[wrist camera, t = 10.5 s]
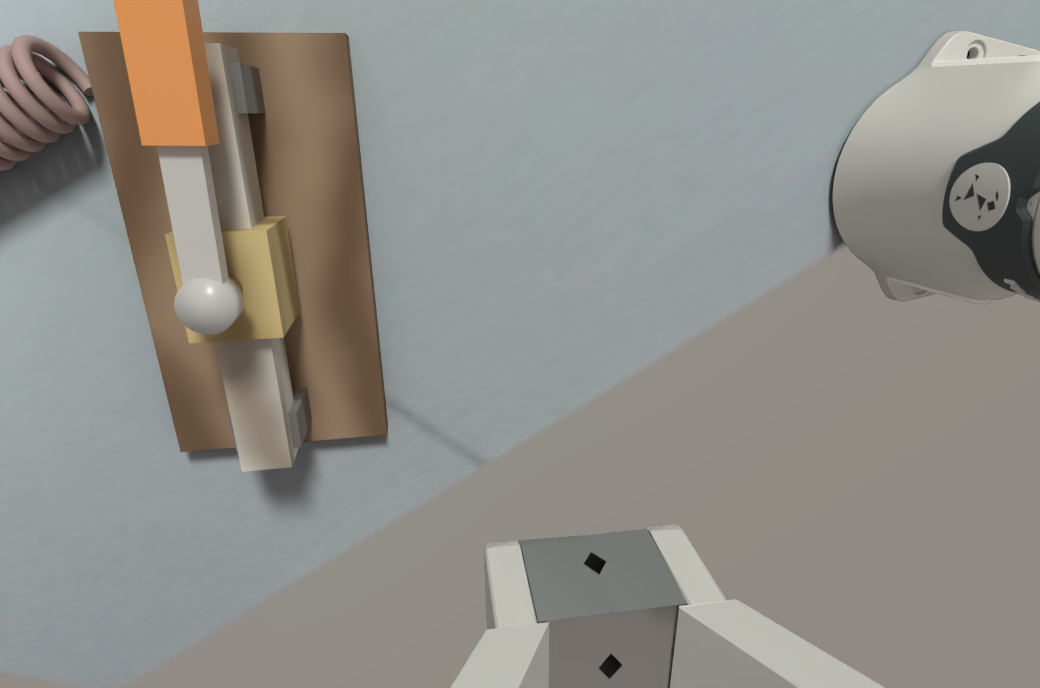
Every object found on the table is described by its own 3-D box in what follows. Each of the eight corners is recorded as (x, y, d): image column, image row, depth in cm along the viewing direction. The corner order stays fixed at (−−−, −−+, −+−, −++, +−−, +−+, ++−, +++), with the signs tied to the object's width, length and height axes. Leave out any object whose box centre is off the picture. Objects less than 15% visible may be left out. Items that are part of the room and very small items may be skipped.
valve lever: (130, -4, 26) (108, -13, 24) (200, -1, 26) (183, -10, 25) (192, 324, 31) (177, 338, 29) (249, 322, 32) (238, 335, 30)
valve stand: (348, 36, 36) (325, 12, 27) (387, 424, 45) (379, 498, 37) (92, 35, 34) (-20, 8, 25) (188, 441, 43) (130, 522, 35)
